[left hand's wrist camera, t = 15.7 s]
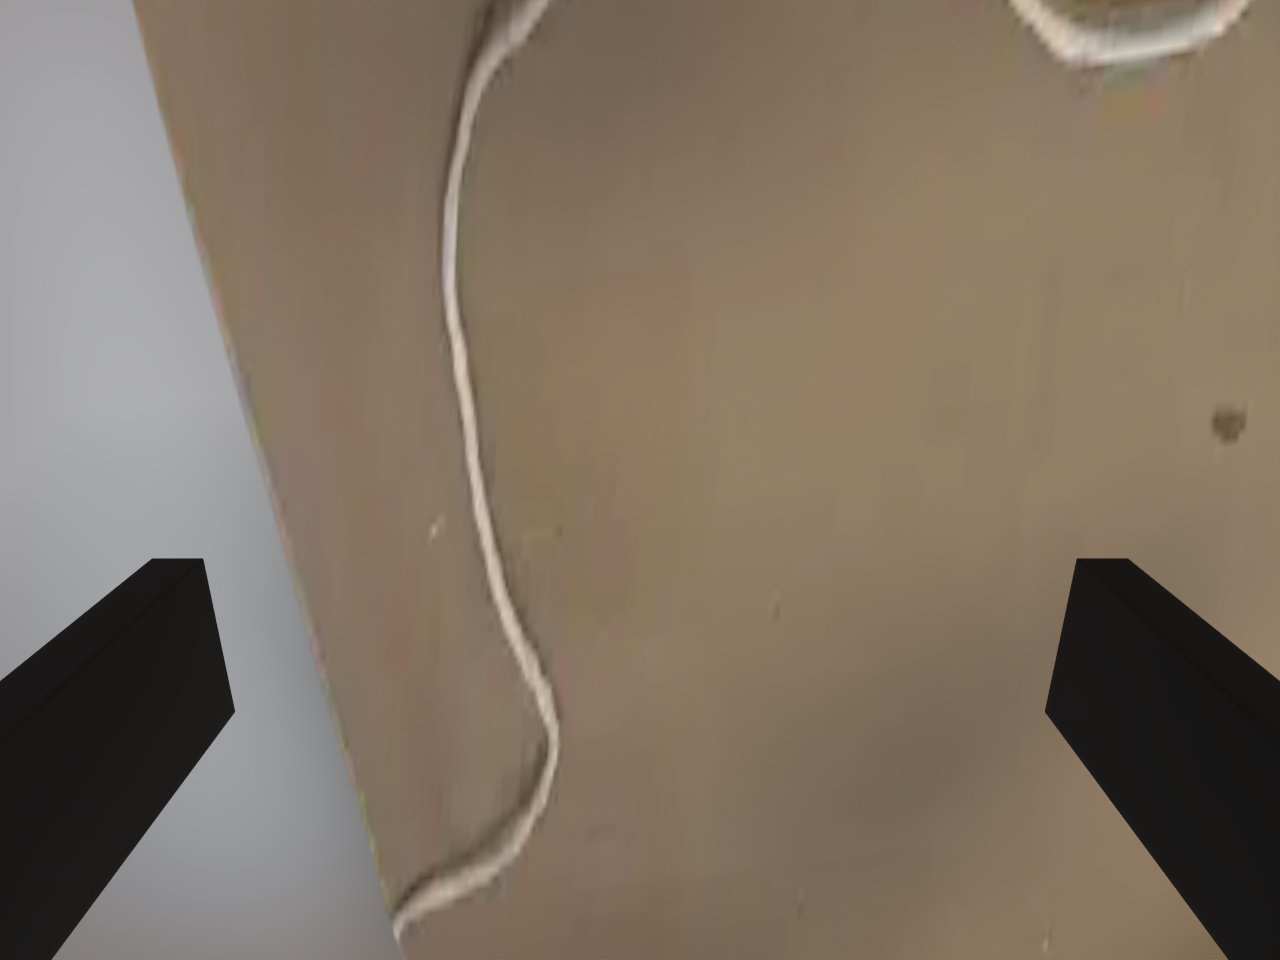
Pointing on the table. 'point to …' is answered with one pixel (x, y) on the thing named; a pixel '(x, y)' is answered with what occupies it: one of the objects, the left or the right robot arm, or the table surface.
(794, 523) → the table surface
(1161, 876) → the table surface
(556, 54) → the table surface
